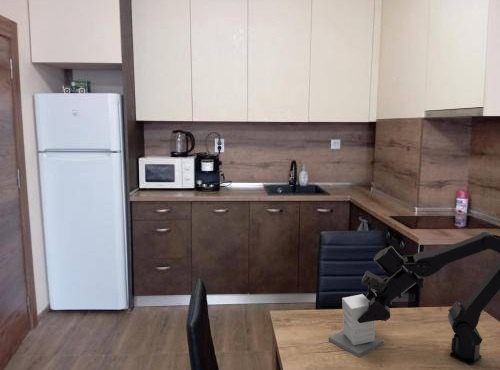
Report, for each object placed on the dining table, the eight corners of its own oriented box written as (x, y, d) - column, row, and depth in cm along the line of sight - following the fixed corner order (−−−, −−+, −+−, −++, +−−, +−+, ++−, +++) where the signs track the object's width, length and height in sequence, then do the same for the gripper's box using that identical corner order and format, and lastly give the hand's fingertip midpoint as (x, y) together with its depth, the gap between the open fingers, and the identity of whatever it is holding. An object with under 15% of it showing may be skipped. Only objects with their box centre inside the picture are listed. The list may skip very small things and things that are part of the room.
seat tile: (383, 344, 128) (383, 340, 128) (359, 357, 121) (359, 353, 121) (352, 329, 137) (352, 325, 137) (328, 340, 130) (328, 337, 130)
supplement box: (364, 329, 133) (363, 293, 131) (375, 341, 126) (374, 304, 124) (342, 333, 132) (341, 297, 129) (352, 346, 125) (351, 308, 122)
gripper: (377, 255, 133) (342, 284, 137) (379, 275, 115) (338, 308, 119) (402, 280, 132) (365, 309, 136) (408, 305, 114) (365, 337, 119)
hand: (358, 314), depth 128 cm, fingers open, 9 cm apart
